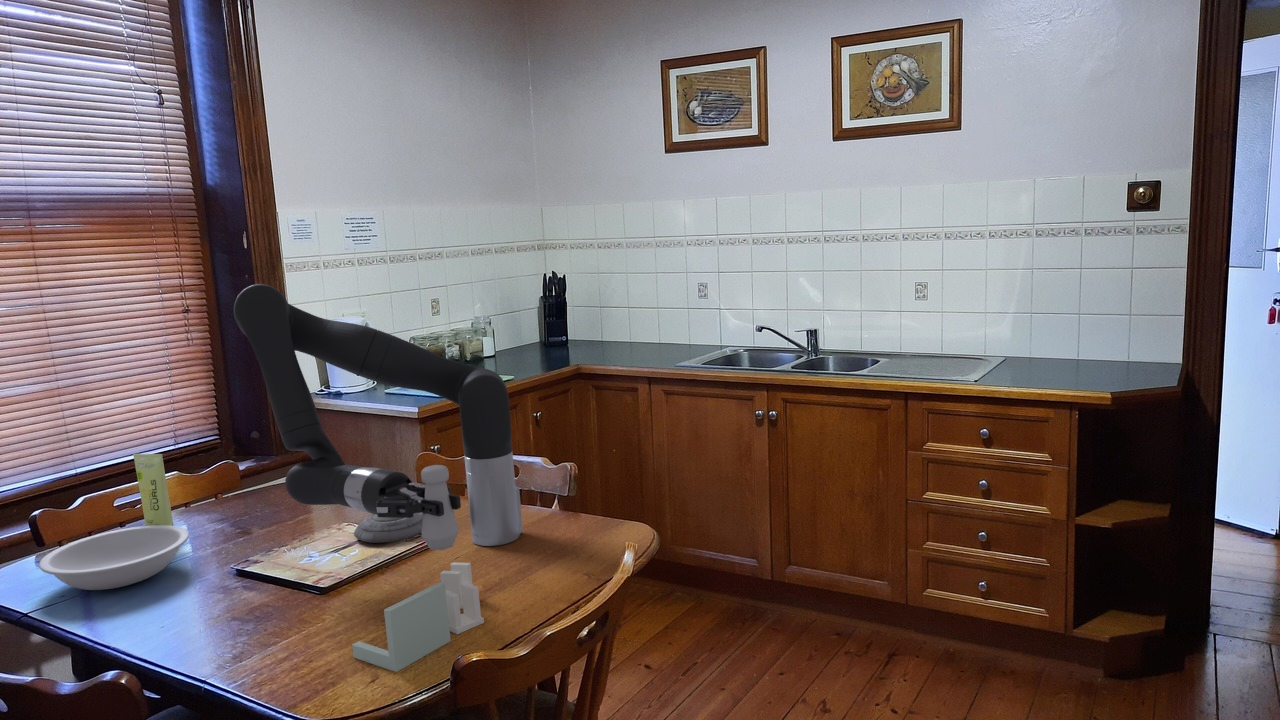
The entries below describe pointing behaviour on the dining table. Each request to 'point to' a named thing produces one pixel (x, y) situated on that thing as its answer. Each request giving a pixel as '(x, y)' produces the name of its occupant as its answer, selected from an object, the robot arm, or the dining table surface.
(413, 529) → the flying saucer
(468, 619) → the clip
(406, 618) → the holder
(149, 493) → the tube
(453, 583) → the clip
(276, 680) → the dining table surface
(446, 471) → the salt shaker
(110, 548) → the soup bowl
